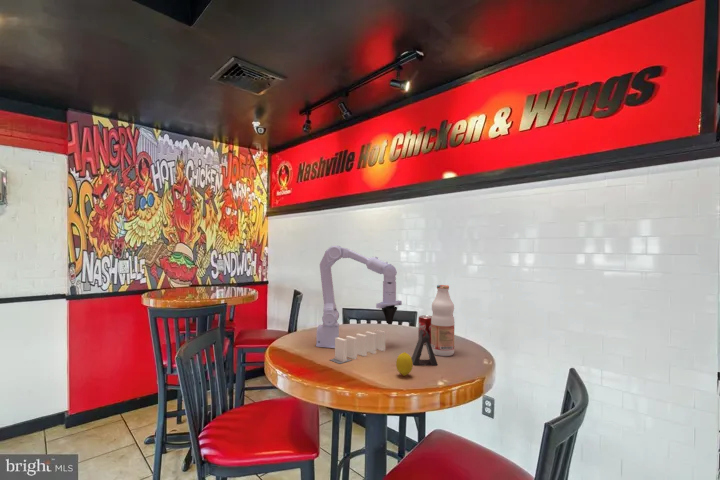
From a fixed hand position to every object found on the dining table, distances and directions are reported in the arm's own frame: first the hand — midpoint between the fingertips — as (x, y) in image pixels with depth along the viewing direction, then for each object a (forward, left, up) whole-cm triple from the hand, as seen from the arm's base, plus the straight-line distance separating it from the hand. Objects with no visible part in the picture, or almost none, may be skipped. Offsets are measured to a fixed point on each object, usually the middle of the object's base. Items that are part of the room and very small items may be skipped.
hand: (389, 323), depth 156 cm
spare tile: (-14, -24, -10) cm, 29 cm away
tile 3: (-9, -14, -10) cm, 20 cm away
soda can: (+15, +12, -11) cm, 22 cm away
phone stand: (+17, -17, -11) cm, 26 cm away
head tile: (-3, -5, -10) cm, 12 cm away
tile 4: (-11, -19, -10) cm, 24 cm away
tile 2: (-6, -9, -10) cm, 15 cm away
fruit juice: (+23, -2, -11) cm, 25 cm away
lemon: (+12, -33, -11) cm, 36 cm away
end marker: (-14, -24, -10) cm, 29 cm away
